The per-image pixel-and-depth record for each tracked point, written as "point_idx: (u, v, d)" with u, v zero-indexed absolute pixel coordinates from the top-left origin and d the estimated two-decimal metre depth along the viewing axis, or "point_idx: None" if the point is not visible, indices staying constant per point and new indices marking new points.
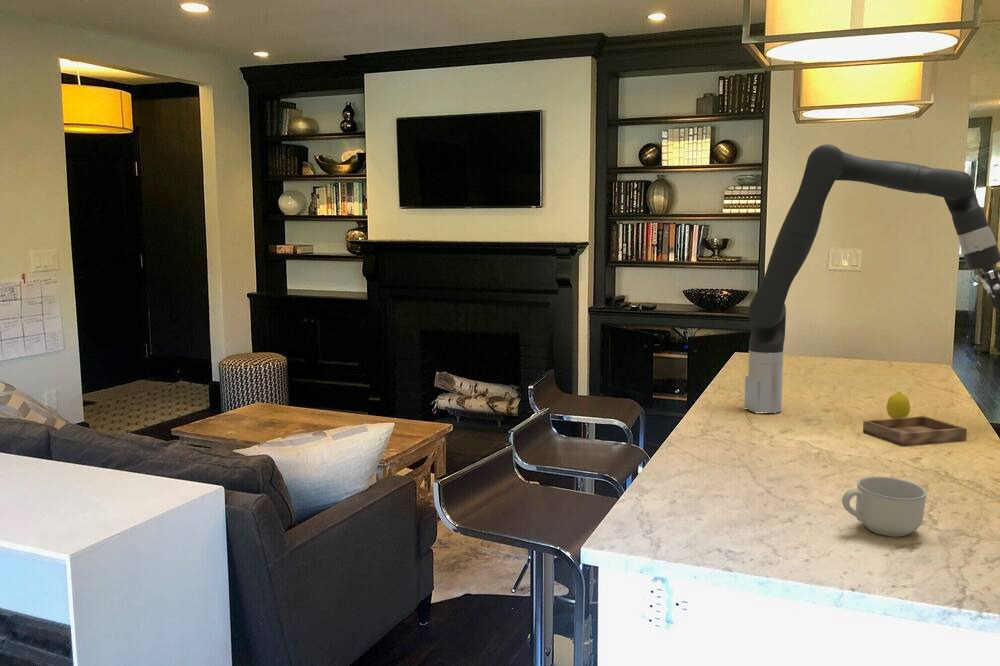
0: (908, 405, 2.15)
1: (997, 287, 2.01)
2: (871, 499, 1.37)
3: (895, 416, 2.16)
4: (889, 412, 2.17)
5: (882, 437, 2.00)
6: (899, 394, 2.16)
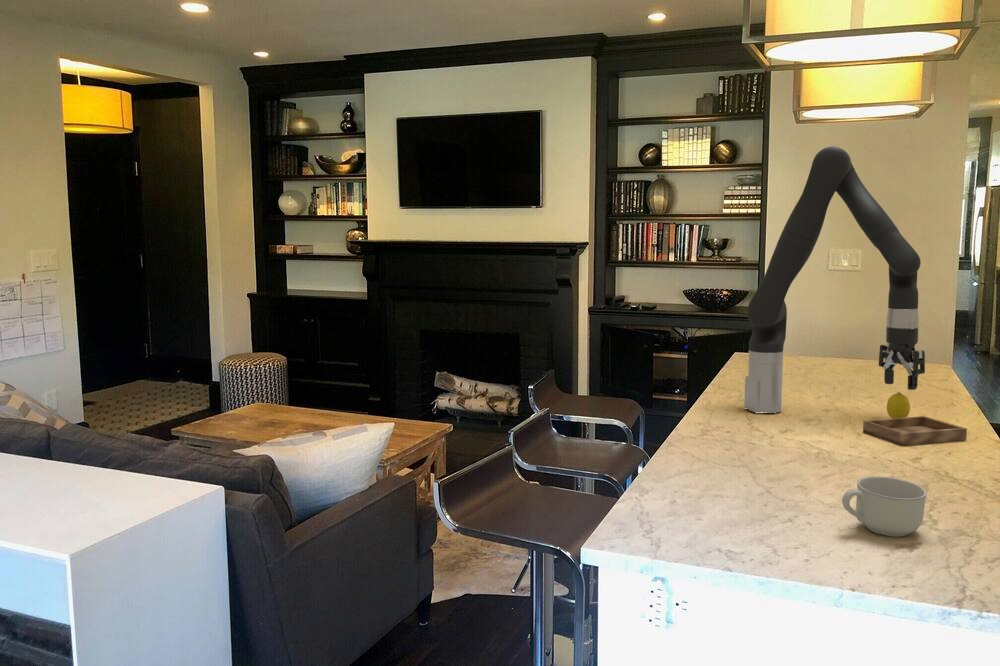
0: (908, 405, 2.15)
1: (912, 366, 2.12)
2: (871, 499, 1.37)
3: (895, 416, 2.16)
4: (889, 412, 2.17)
5: (882, 437, 2.00)
6: (899, 394, 2.16)
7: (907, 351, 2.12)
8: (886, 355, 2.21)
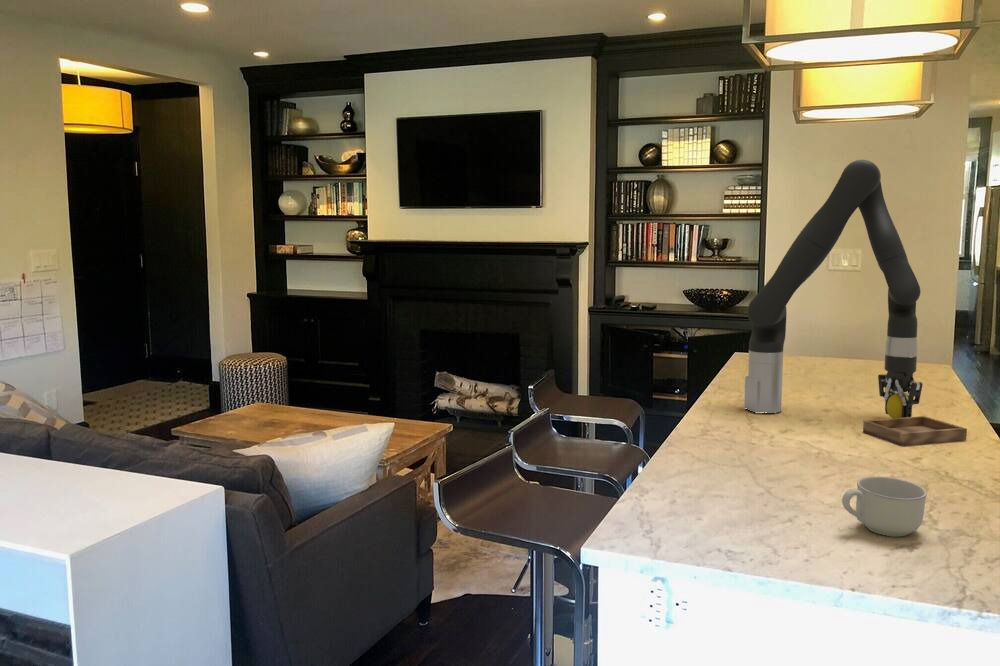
0: None
1: (908, 396, 2.14)
2: (871, 499, 1.37)
3: (895, 416, 2.16)
4: (889, 412, 2.17)
5: (882, 437, 2.00)
6: None
7: (905, 380, 2.13)
8: (886, 384, 2.22)
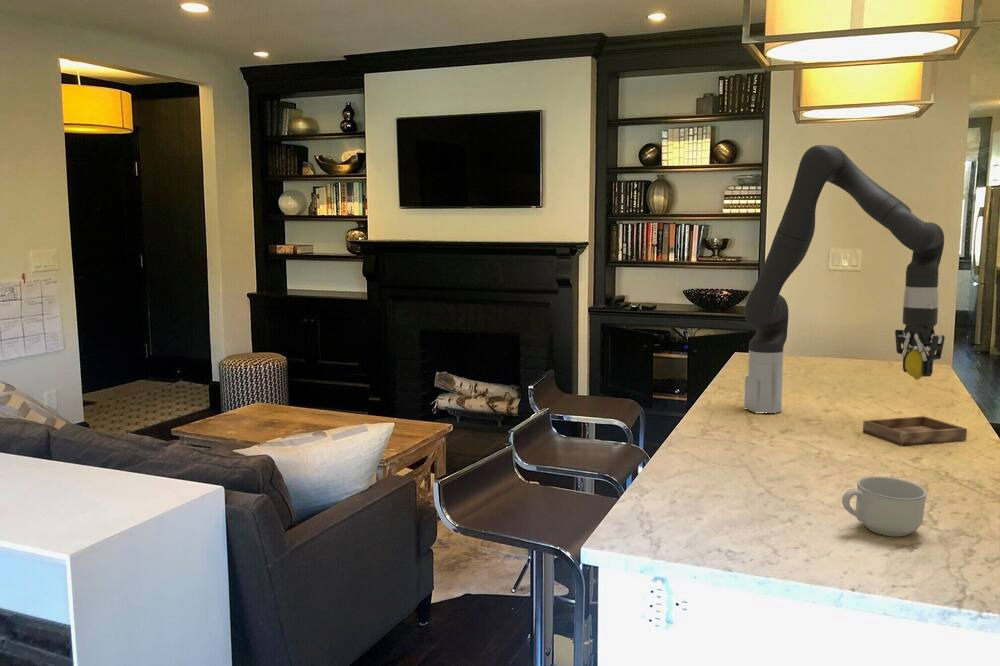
0: None
1: (928, 351, 1.98)
2: (871, 499, 1.37)
3: (915, 373, 1.99)
4: (908, 369, 2.00)
5: (882, 437, 2.00)
6: None
7: (926, 333, 1.96)
8: (903, 340, 2.05)
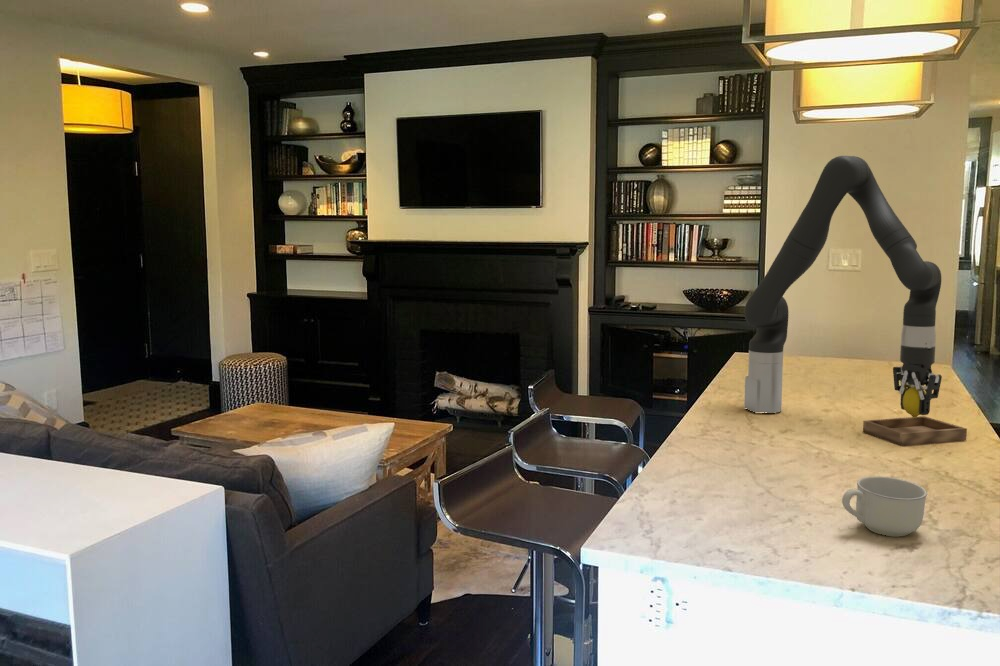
0: None
1: (925, 389, 1.98)
2: (871, 499, 1.37)
3: (912, 411, 2.00)
4: (905, 407, 2.01)
5: (882, 437, 2.00)
6: None
7: (923, 372, 1.97)
8: (901, 377, 2.06)
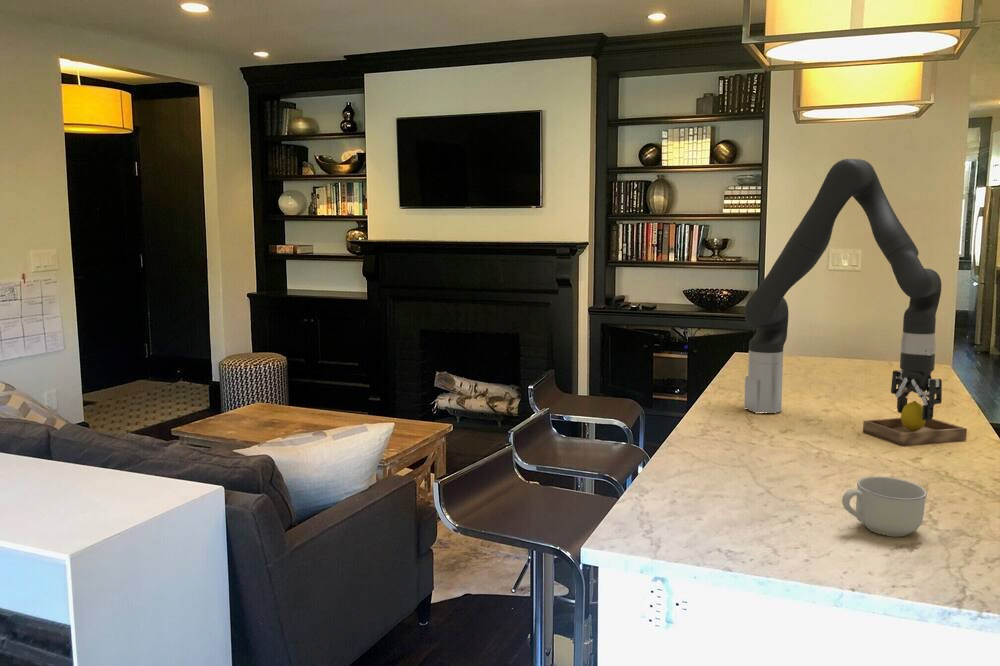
0: None
1: (928, 395, 1.98)
2: (871, 499, 1.37)
3: (910, 426, 2.01)
4: (903, 422, 2.02)
5: (882, 437, 2.00)
6: (915, 403, 2.01)
7: (923, 379, 1.97)
8: (899, 382, 2.07)
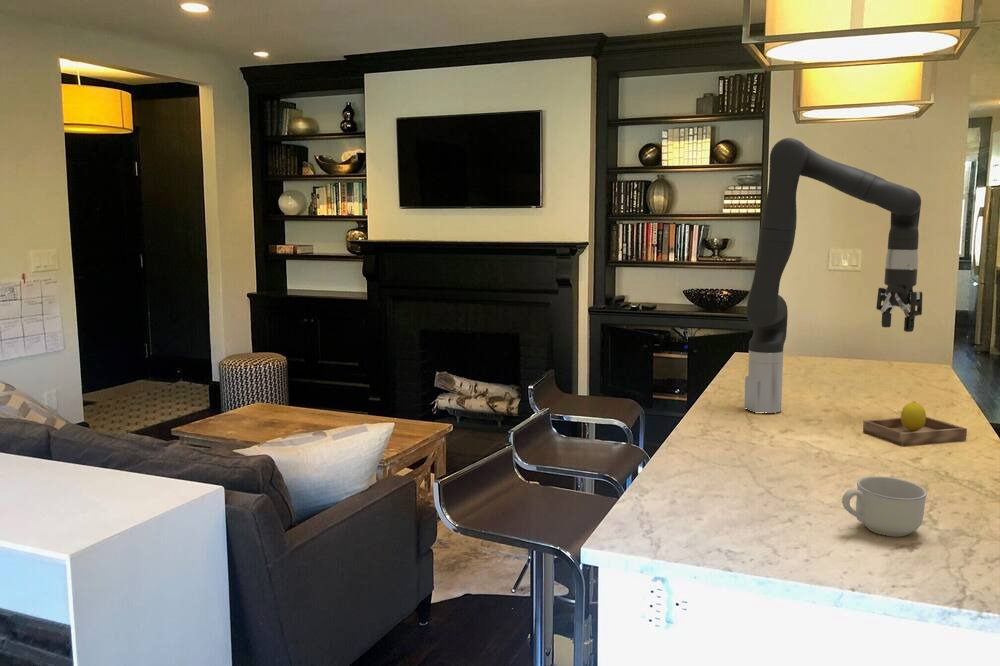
0: (924, 415, 2.00)
1: (909, 308, 2.10)
2: (871, 499, 1.37)
3: (910, 427, 2.01)
4: (903, 422, 2.02)
5: (882, 437, 2.00)
6: (914, 403, 2.01)
7: (905, 292, 2.09)
8: (884, 298, 2.19)
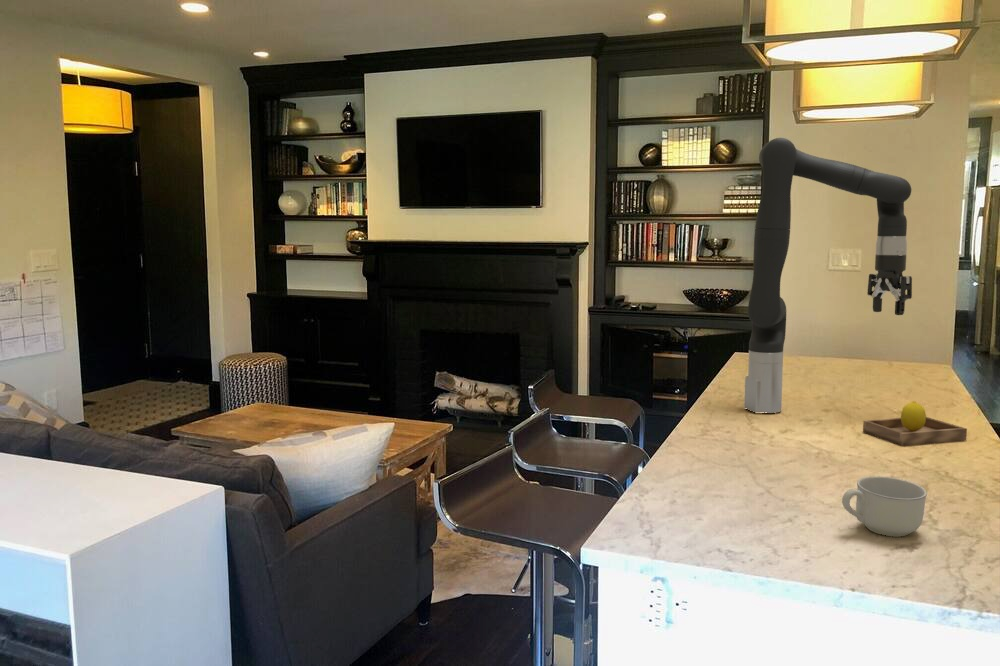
0: (924, 415, 2.00)
1: (900, 292, 2.18)
2: (871, 499, 1.37)
3: (910, 427, 2.01)
4: (903, 422, 2.02)
5: (882, 437, 2.00)
6: (914, 403, 2.01)
7: (895, 277, 2.18)
8: (875, 284, 2.27)
